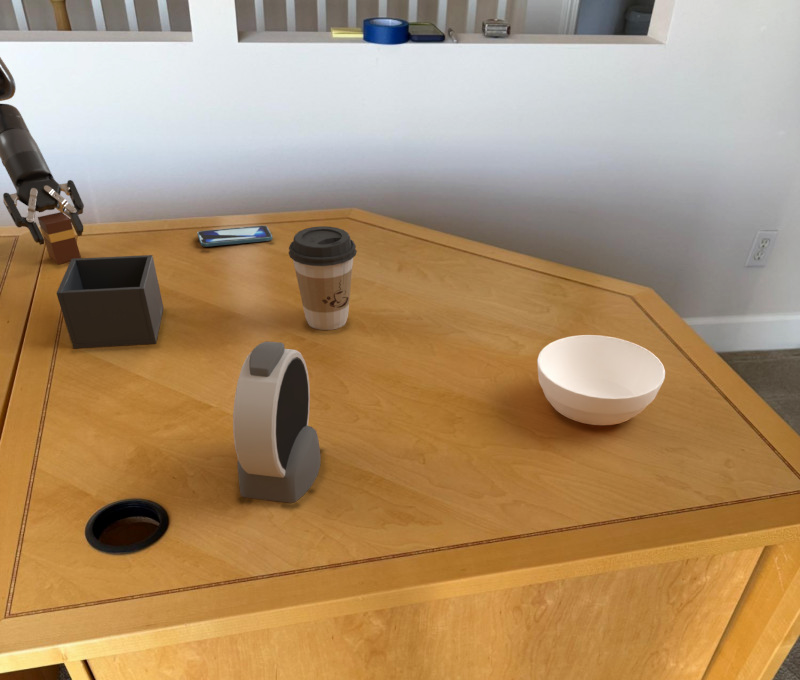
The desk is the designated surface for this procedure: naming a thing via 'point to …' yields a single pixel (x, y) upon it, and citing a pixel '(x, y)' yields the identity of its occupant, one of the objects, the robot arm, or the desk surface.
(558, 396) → the bowl
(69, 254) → the chocolate box
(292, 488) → the alarm clock
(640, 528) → the desk surface
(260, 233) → the smartphone
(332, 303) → the coffee cup
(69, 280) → the trash bin
